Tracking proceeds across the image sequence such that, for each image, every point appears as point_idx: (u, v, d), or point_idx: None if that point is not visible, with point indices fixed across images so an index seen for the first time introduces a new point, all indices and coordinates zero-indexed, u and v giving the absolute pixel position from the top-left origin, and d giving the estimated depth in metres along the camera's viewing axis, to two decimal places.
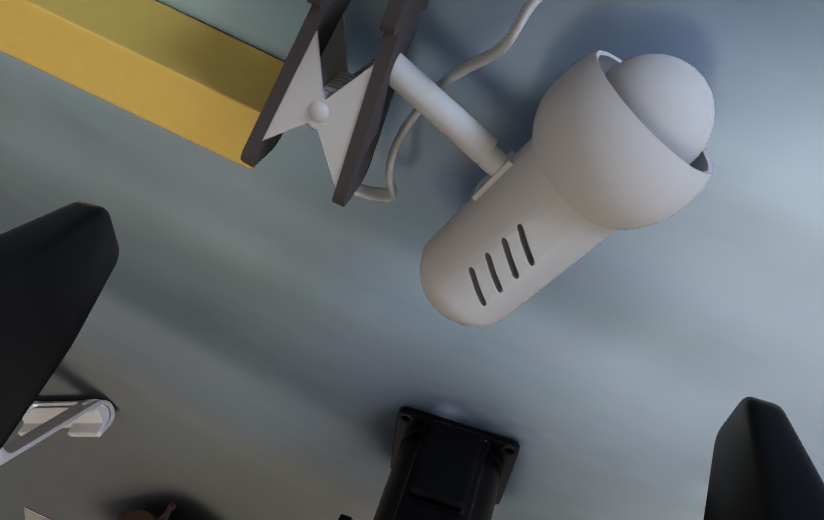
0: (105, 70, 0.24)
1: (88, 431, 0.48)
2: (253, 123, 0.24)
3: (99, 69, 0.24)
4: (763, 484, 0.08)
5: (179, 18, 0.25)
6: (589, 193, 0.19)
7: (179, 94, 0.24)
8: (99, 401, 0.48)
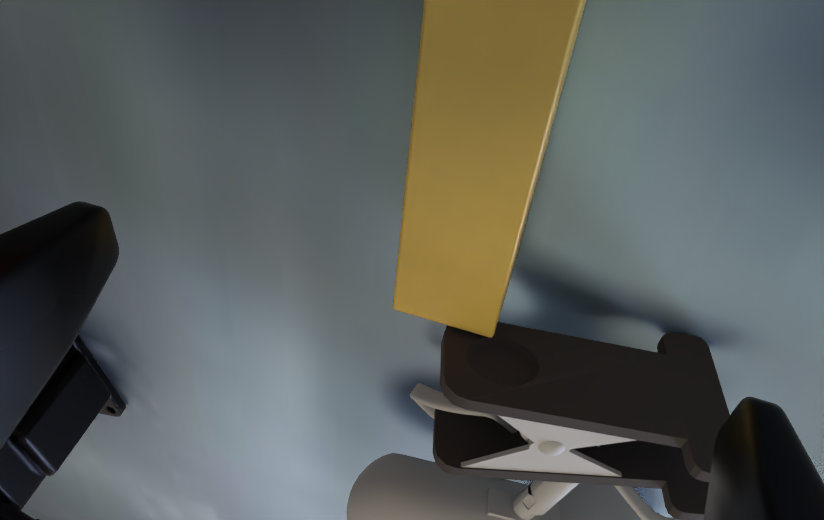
0: (477, 142, 0.14)
1: None
2: (473, 326, 0.18)
3: (475, 132, 0.14)
4: (763, 484, 0.08)
5: (550, 131, 0.16)
6: None
7: (479, 247, 0.16)
8: None
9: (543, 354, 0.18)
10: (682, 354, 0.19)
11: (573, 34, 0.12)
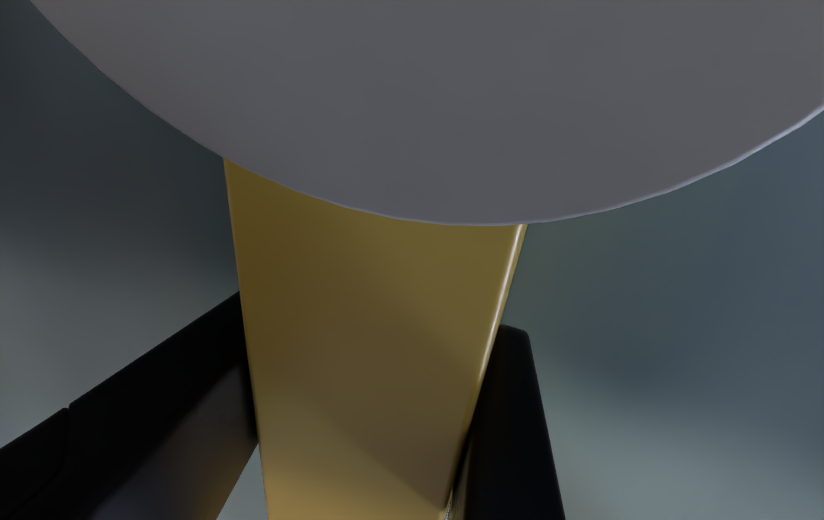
0: (353, 473, 0.09)
1: None
2: None
3: (348, 463, 0.09)
4: (479, 396, 0.08)
5: None
6: None
7: None
8: None
9: None
10: None
11: (478, 386, 0.07)
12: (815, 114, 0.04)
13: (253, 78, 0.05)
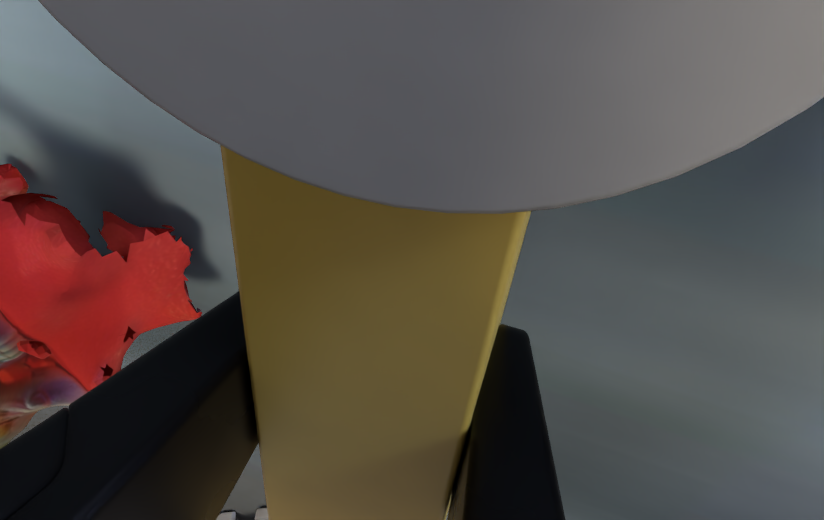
0: (353, 469, 0.09)
1: None
2: None
3: (348, 459, 0.09)
4: (479, 396, 0.08)
5: None
6: None
7: None
8: None
9: None
10: None
11: (479, 379, 0.07)
12: None
13: (250, 63, 0.05)
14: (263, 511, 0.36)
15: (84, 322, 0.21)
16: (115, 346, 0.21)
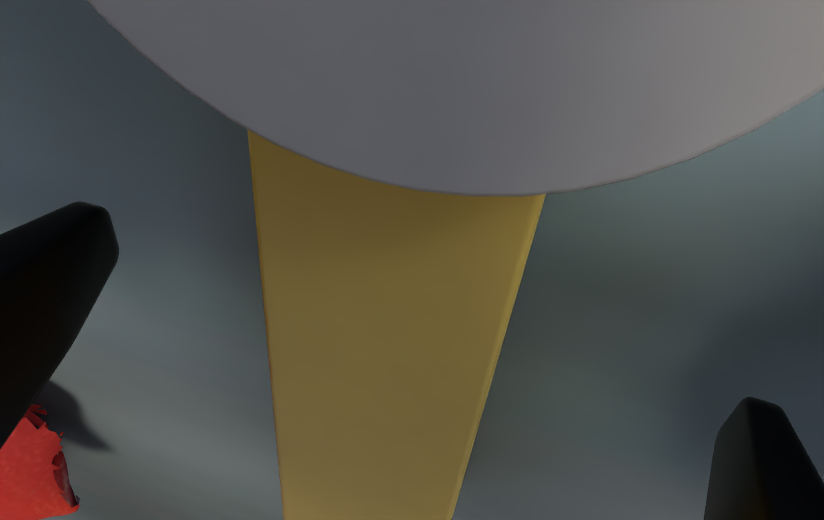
0: (368, 454, 0.09)
1: None
2: None
3: (363, 443, 0.09)
4: (763, 484, 0.08)
5: None
6: None
7: None
8: None
9: None
10: None
11: (494, 362, 0.07)
12: None
13: (283, 51, 0.05)
14: None
15: None
16: None
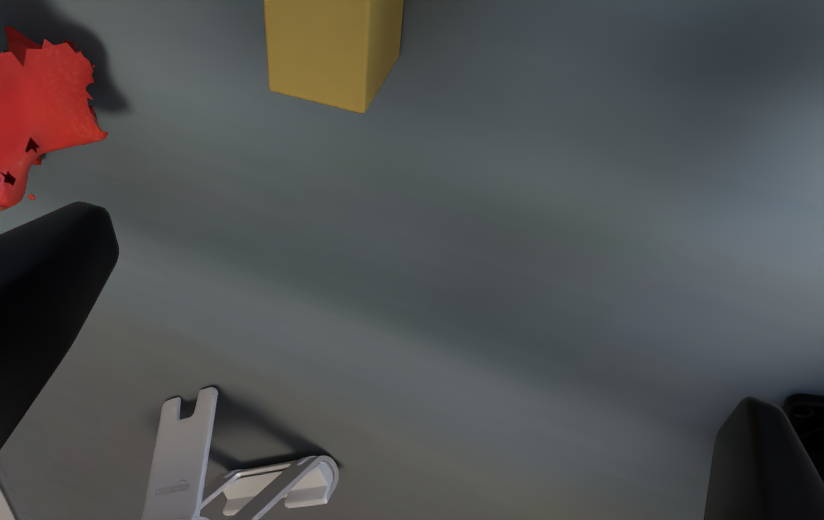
0: None
1: (311, 498, 0.37)
2: (344, 100, 0.18)
3: None
4: (763, 484, 0.08)
5: None
6: None
7: None
8: (318, 457, 0.37)
9: None
10: None
11: None
12: None
13: None
14: (205, 391, 0.36)
15: None
16: (16, 154, 0.22)
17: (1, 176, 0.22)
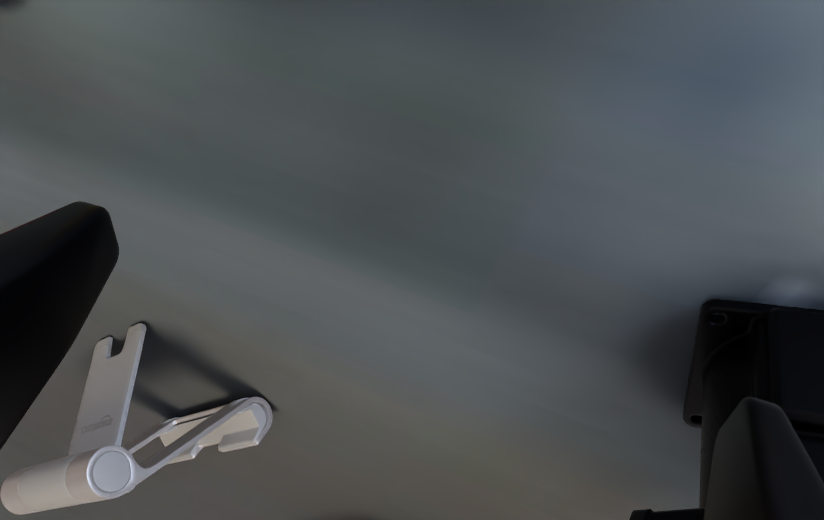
0: None
1: (242, 440, 0.36)
2: None
3: None
4: (763, 484, 0.08)
5: None
6: None
7: None
8: (251, 398, 0.36)
9: None
10: None
11: None
12: None
13: None
14: (134, 327, 0.35)
15: None
16: None
17: None
